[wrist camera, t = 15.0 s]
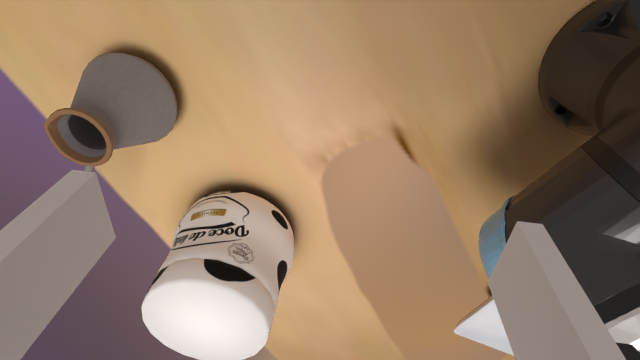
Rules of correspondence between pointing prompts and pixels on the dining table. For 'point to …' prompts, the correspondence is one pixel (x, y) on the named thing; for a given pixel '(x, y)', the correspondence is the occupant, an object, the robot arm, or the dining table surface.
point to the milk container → (221, 278)
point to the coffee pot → (113, 110)
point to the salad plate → (485, 327)
